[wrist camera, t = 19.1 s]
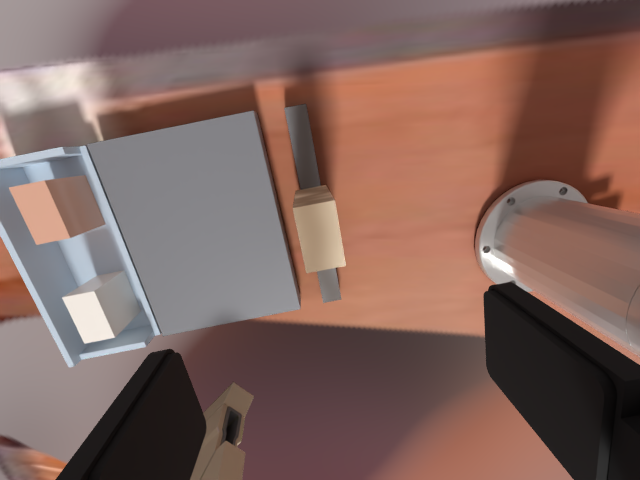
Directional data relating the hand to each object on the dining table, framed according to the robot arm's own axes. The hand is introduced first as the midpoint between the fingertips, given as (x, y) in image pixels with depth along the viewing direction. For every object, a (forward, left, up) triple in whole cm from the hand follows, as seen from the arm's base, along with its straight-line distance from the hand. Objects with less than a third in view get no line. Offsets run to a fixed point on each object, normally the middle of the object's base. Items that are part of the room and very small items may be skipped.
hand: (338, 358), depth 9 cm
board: (+11, 0, -24) cm, 27 cm away
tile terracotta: (+21, -5, -21) cm, 30 cm away
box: (+23, 0, -24) cm, 33 cm away
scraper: (0, 0, -24) cm, 25 cm away
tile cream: (+21, +5, -21) cm, 30 cm away
